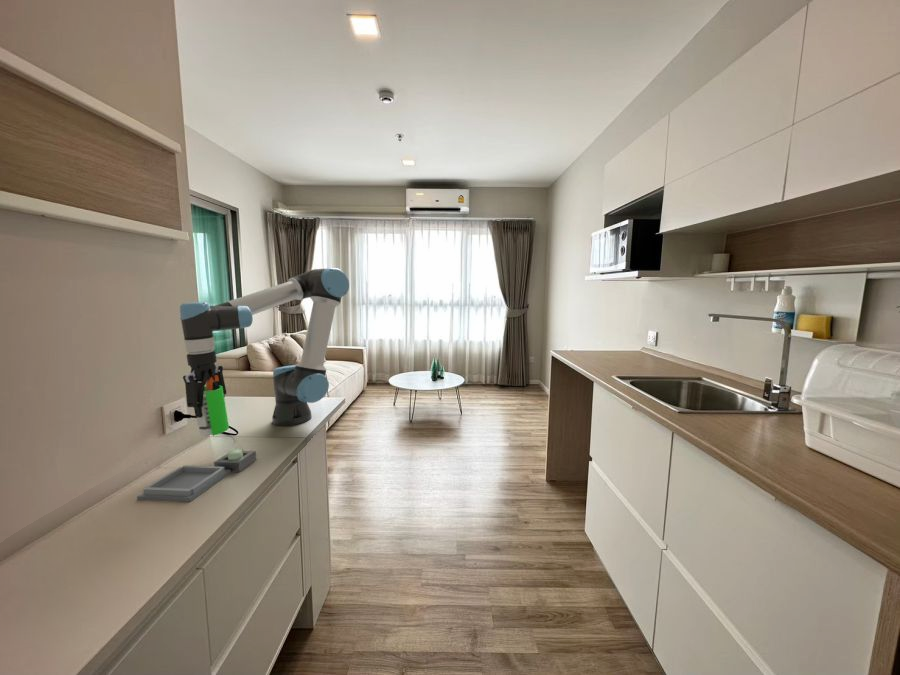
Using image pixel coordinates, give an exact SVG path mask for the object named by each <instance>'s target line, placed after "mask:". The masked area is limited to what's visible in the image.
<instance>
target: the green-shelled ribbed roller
mask: <svg viewBox="0 0 900 675" xmlns="http://www.w3.org/2000/svg"><path fill="white" fill-rule="evenodd" d="M215 381H219V378H218V375H216V376H215ZM215 381H214V380H213V378H212V377H211V378H210V380H207V381H206V385H205V386H204V395H203V405H202V406H205V410H206V416H207V423H208V426H206V427H198V431H199V435H200V436H203V437H204V436H205V437H206V436H213V437H214V436H218V435H221V434H223V433H225V432H226V431H228V430H229V429H230V426H229V421H228V420H229V418H228V413H227V407H226V401H225V398H224V393H223V387H222V386H221V385H219V386H218V389H216V390H212V389H213V382H215ZM197 403H198V402H197Z"/></svg>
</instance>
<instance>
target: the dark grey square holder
mask: <svg viewBox="0 0 900 675" xmlns="http://www.w3.org/2000/svg"><path fill="white" fill-rule="evenodd" d="M242 451H243V457H241V458H240V459H239V460H228V452H227V453H226V454H224V455H223V456H221V457H219V458H218V459H216V460H215V461H213V465H214V466H217V467H225V469H227V470H231V473H241V472H242V471H243V470H245V469H247V468H248V467H249V466H250V465H252V464H253V463H254V462H256V461H257V452H256V450H242ZM255 460H256V461H255Z"/></svg>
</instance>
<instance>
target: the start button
mask: <svg viewBox="0 0 900 675" xmlns="http://www.w3.org/2000/svg"><path fill="white" fill-rule="evenodd" d="M243 451H244V450H243V449H241V448H237V449H233V450H230V451H228V452H227V453H228V460H239V459H240V458H241V457H243Z"/></svg>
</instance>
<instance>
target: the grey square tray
mask: <svg viewBox="0 0 900 675" xmlns="http://www.w3.org/2000/svg"><path fill="white" fill-rule="evenodd" d="M231 473H232V472H231V470H227V469H225V467H217V466H213V465H212V466H211V465H208V466H207V465H183V466H179V467H178V468H175V469H174V470H172V471H171V472H169V473H167V474H166V475H164V476H162V477H160V478H159V479H157V480H155V481H153V482H152V483H150V484H148V485H146V486H145V487H144V488H143V492H141V493H140V494H138V495H137V496H136V498H137V500H138V501H157V502H159V501H160V502H161V501H162V502H163V501H164V502H184V503H190V502H192V501H193V500H195V499H197V498H198V497H199V496H201V495H202V494H203V493H204V492H206V491H207V490H209V489H210V488H212V487H213V486H214V485H216V484H217V483H218V482H220V481H222V480H223V479H224V478H226V477H227V476H229V475H230V474H231Z"/></svg>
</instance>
